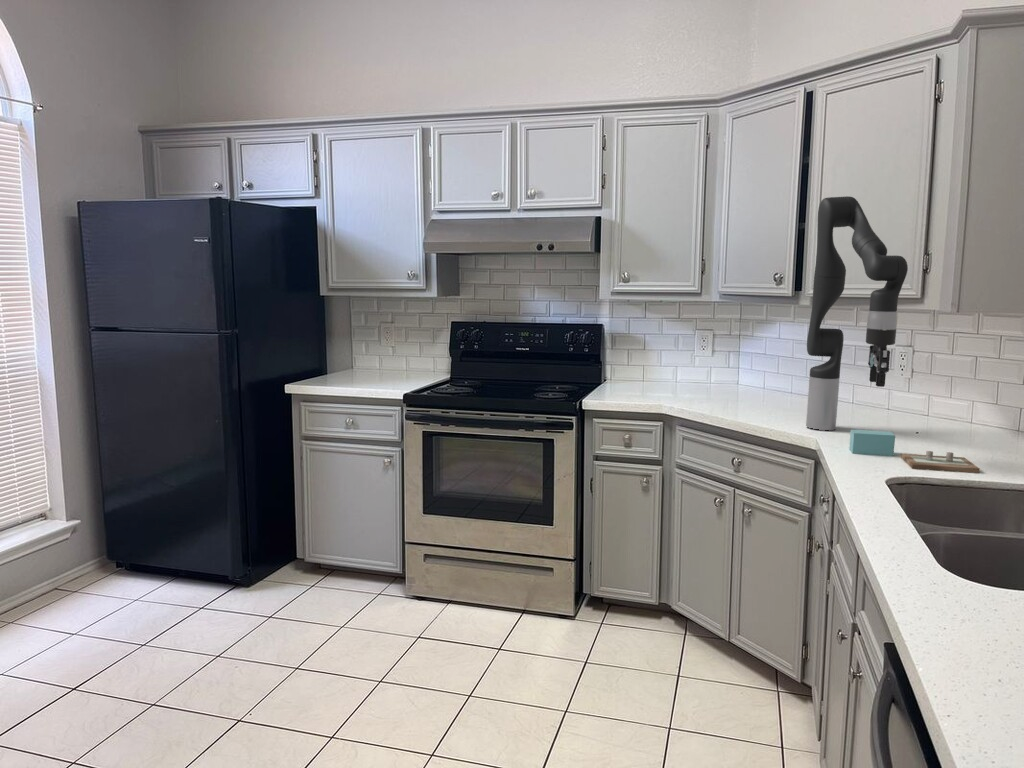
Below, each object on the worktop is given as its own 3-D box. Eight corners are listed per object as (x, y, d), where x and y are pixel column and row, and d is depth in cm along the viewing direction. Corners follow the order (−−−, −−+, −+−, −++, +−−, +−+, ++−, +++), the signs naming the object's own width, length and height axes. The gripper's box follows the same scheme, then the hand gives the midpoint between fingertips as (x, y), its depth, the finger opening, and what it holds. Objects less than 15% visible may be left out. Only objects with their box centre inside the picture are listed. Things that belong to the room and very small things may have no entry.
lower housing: (849, 449, 223) (850, 429, 222) (889, 451, 220) (891, 431, 219) (852, 453, 218) (854, 433, 217) (893, 456, 215) (895, 435, 215)
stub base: (900, 457, 214) (902, 445, 213) (964, 461, 210) (965, 449, 209) (912, 468, 202) (913, 455, 202) (979, 473, 198) (980, 459, 198)
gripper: (862, 325, 221) (857, 379, 224) (872, 328, 208) (867, 387, 210) (890, 325, 219) (885, 381, 222) (902, 329, 206) (897, 388, 208)
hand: (876, 384), depth 216 cm, fingers open, 8 cm apart
